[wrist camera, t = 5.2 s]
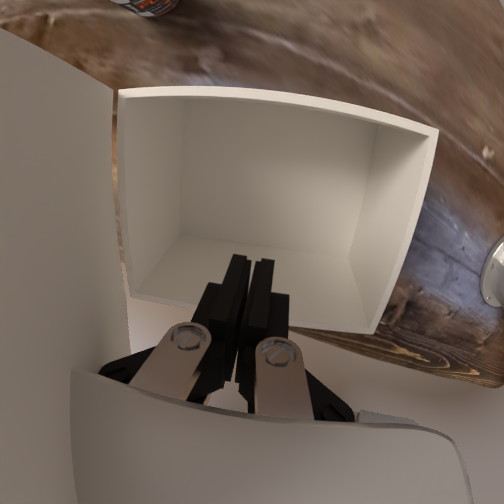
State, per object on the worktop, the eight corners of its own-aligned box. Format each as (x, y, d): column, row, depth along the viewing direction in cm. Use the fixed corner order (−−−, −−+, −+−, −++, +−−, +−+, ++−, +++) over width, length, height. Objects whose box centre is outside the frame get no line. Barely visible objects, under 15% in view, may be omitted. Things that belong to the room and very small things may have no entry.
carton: (382, 119, 24) (439, 129, 14) (350, 261, 32) (373, 334, 21) (182, 93, 25) (118, 89, 15) (177, 235, 33) (130, 296, 22)
